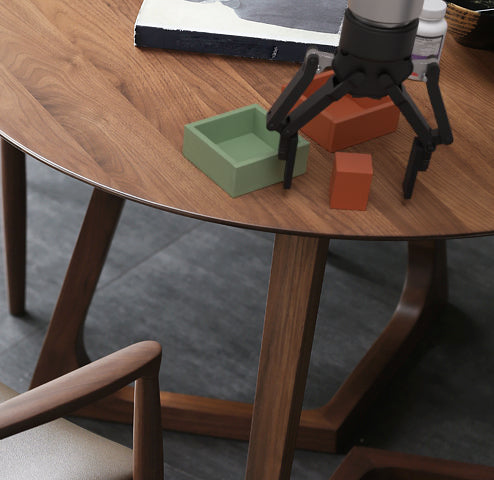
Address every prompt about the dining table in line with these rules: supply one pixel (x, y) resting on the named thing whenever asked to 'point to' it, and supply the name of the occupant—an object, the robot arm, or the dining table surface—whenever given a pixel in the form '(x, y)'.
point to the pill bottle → (430, 32)
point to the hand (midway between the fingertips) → (346, 187)
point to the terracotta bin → (348, 118)
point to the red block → (350, 181)
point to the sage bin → (240, 150)
